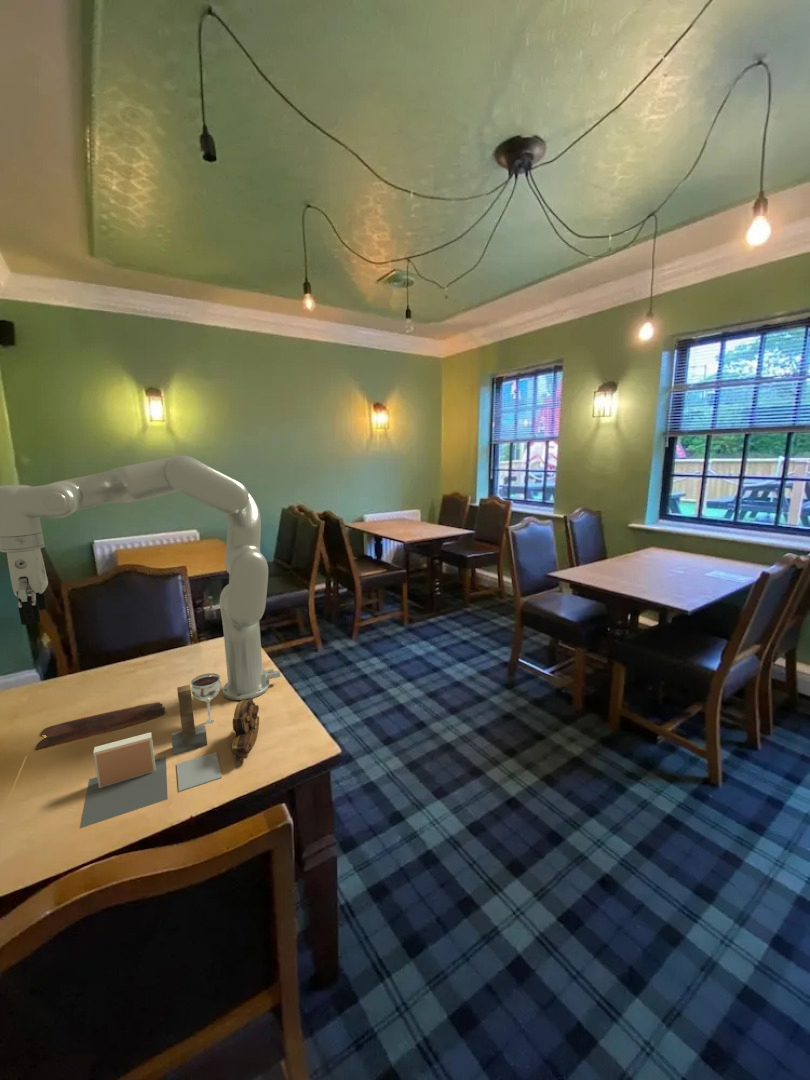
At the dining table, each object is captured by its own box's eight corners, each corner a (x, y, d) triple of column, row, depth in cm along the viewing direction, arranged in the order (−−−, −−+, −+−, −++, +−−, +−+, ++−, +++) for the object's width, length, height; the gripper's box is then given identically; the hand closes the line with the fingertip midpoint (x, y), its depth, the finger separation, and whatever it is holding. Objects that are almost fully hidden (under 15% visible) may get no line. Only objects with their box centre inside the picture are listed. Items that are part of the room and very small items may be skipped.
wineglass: (196, 735, 108) (191, 689, 105) (194, 720, 113) (189, 676, 111) (226, 727, 111) (222, 682, 108) (223, 713, 117) (219, 670, 114)
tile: (155, 765, 96) (151, 732, 95) (155, 771, 94) (151, 738, 93) (100, 781, 92) (94, 747, 90) (98, 789, 90) (93, 753, 88)
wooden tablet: (163, 696, 123) (165, 709, 115) (164, 703, 123) (166, 718, 115) (41, 727, 110) (33, 745, 101) (42, 735, 110) (34, 754, 101)
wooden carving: (254, 766, 97) (251, 725, 95) (232, 769, 96) (228, 727, 94) (262, 722, 113) (260, 686, 111) (243, 724, 112) (240, 688, 110)
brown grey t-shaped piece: (206, 740, 106) (200, 681, 103) (207, 747, 103) (201, 687, 100) (173, 749, 102) (166, 689, 100) (173, 757, 100) (166, 695, 97)
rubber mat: (166, 759, 99) (165, 756, 99) (167, 801, 87) (167, 798, 87) (89, 781, 93) (89, 779, 92) (80, 830, 81) (79, 828, 80)
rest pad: (216, 755, 100) (216, 751, 100) (222, 780, 93) (221, 776, 93) (177, 767, 97) (176, 763, 97) (179, 794, 89) (178, 790, 89)
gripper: (37, 547, 92) (51, 625, 96) (48, 534, 107) (59, 602, 110) (-11, 551, 88) (5, 633, 92) (7, 537, 103) (20, 608, 106)
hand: (34, 616), depth 101 cm, fingers open, 9 cm apart
